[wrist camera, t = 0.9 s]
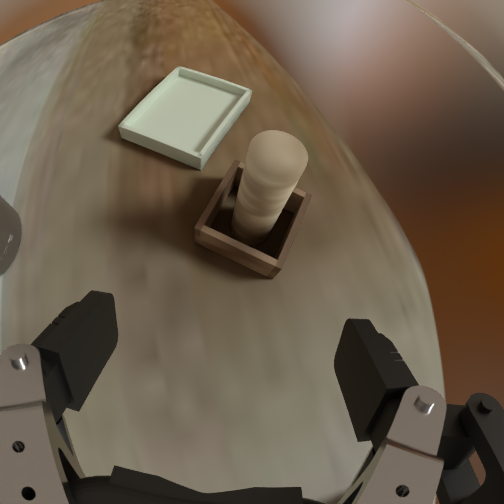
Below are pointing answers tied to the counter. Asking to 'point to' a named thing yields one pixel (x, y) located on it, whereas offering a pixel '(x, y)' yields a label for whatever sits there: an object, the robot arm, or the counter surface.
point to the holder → (237, 249)
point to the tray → (186, 116)
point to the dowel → (266, 184)
